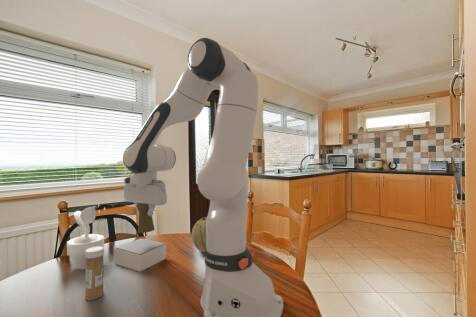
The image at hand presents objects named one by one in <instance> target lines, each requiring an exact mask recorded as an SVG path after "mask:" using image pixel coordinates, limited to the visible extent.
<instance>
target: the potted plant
mask: <svg viewBox="0 0 476 317" xmlns="http://www.w3.org/2000/svg"><path fill="white" fill-rule="evenodd" d="M96 204H97V206H96V205H94V206H88V207H86V208H84V209H83V210H82V211H80V210H76V211H75V212H74V213H73V217H74V219H75V222H76V224H77V225H79V226H80V227H81V226H84V234H81V235H80V236H76V237H73V238H71V239H70V240H67V241H66V256H69V257H70V259H71V261H72V263H73V264H72V265H73V266H74V268H75V269H77V270H79V271H80V270H86V258H85V251H86V250H87V249H89V248H92V247H98V246H101V247H104V248H105V236H104V235H102V234H98V233H90V232H91V226H90V224H91V223H93V222H94V221H95V220H96V216H97V213H96V212H97V211H96V207H98V208H99V206H100V204H101V202H100V199H98V201H97V202H96ZM103 211H104V212H105V211H106V207H105V206H104V208H103ZM100 213H101V211H100V209H99V210H98V214H100Z"/></svg>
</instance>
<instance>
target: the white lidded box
mask: <svg viewBox="0 0 476 317" xmlns="http://www.w3.org/2000/svg"><path fill="white" fill-rule="evenodd" d="M166 247H167V244H166V243H164V242H160V241H156V240H152V239H151V240H150V239H146V238H143V237H141V238H138V239H135V240H133V241H130V242H126V243H124V244H120V245H118V246H115V248H114V264H115V265H118V266H122V267H124V268H127V269H131V270H133V271H136V272H142V271H145V270H146V269H148V268H150V267H152V266H154V265H157V264H159V263H160V262H162V261H165V260H166V259H167V255H166V254H167V251H166V250H167V249H166Z"/></svg>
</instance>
